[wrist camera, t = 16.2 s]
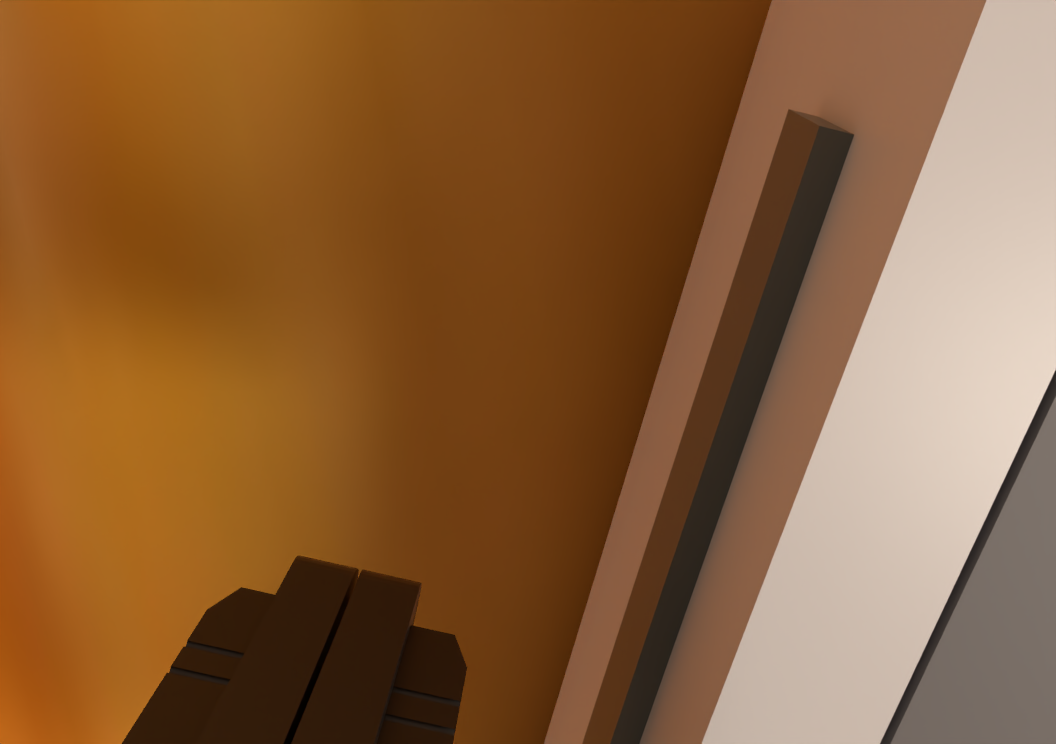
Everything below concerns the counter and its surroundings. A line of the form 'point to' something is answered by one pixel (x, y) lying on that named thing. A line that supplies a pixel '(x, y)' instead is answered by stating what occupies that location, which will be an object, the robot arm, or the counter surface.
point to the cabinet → (997, 619)
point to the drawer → (833, 380)
